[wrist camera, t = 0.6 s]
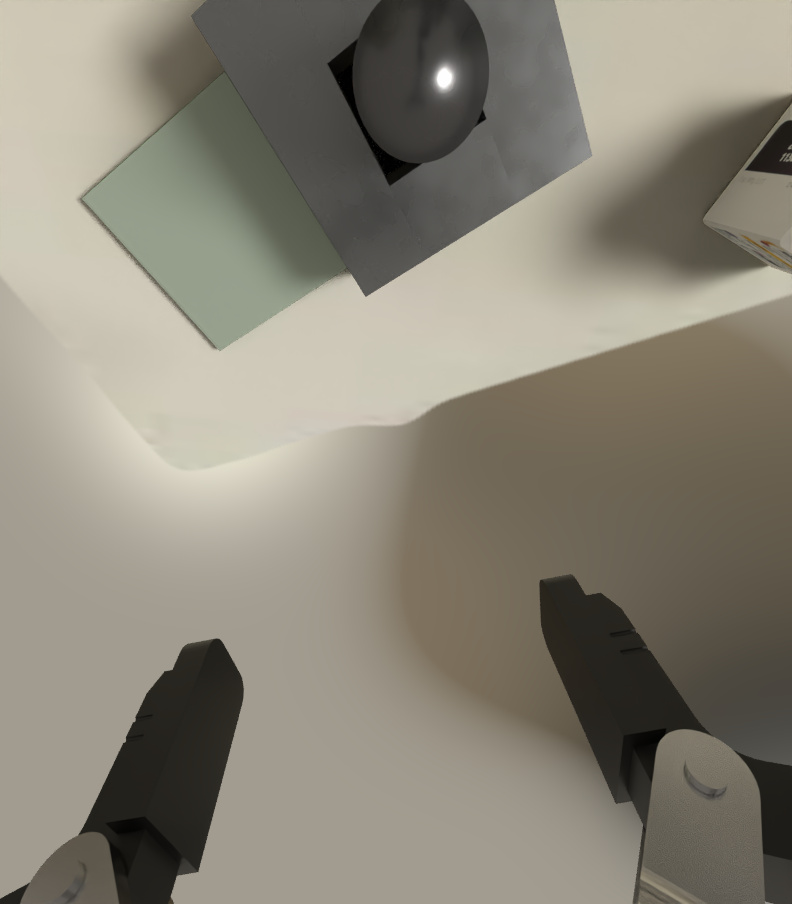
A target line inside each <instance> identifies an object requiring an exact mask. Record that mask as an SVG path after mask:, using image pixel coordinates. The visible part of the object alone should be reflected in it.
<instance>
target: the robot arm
mask: <svg viewBox="0 0 792 904" xmlns="http://www.w3.org/2000/svg"><path fill="white" fill-rule="evenodd" d="M540 611H541V627H542V631H543V635H544V639H545V642H546V645H547V648H548V650H549V652H550V655H551V657H552V659H553V661H554V664H555V666H556V668H557V671H558V673H559V675H560V677H561V680H562V682H563V684H564V686H565V689H566V691H567V693H568V696H569V698H570V700H571V702H572V705H573V707H574V709H575V711H576V714H577V716H578V718H579V721H580V723H581V725H582V728H583V730H584V732H585V734H586V737H587V739H588V741H589V743H590V746H591V748H592V750H593V752H594V755H595V757H596V759H597V761H598V764H599V766H600V768H601V771H602V773H603V775H604V778H605V780H606V782H607V784H608V787H609V789H610V791H611V794H612V796H613V798H614V800H615V803H616V804H617V803H623V802H629V801H632V802H633V804H634V806H635V808H636V811H637V813H638V814H639V817H640V819H641V821H642V823H643V829H642V836H641V844H640V852H639V859H638V867H637V874H636V882H635V889H634V897H633V904H765V901H766V902H770V903H773V904H792V766H789V765H783V764H777V763H772V762H766V761H761V760H757V759H753V758H751V757H747V756H745V755H743V754H740V753H738V752H736V751H734V750H732V749H731V748H730V747H728V746H727V745H725V744H724V743H723V742H721V741H719V740H718V739H716V738H714V737H713V736H712V735H711V734H710V733H709V732H708V731H707V730H706V729H705V728H704V727H703V726H702V725H701V724H700V723H699V721H698V720H697V719H696V717H695V716H694V715H693V713H692V712H691V710H690V709H689V707H688V706H687V704H686V703H685V701H684V700H683V698H682V697H681V695H680V694H679V693H678V691H677V690H676V688H675V687H674V685H673V684H672V682H671V681H670V679H669V678H668V676H667V675H666V674H665V672H664V670H663V669H662V668H661V666H660V665H659V664H658V662H657V660H656V659H655V657H654V656H653V654H652V653H651V652H650V651H649V650H648V649H647V646H646V644H645V643H644V641H643V640H642V639H641V637H640V635H639V634H638V633H636V631H635V628H634V627H633V625H632V624H631V622H630V621H629V619H628V618H627V616H626V615H625V614H624V612H623V610H622V609H621V608H620V607H619V606H617V605H616V604H615V603H613V602H612V601H611V600H609V599H608V598H607V597H605V596H604V595H603V594H602V593H597V594H592V595H585V593H584V591H583V590H582V588H581V587H580V585H579V583H578V582H577V580H576V579H575V577H574V576H573V575H571V574H570V575H564V576H559V577H554V578H548V579H543V580H540ZM243 692H244V688H243V681H242V677H241V675H240V673H239V671H238V669H237V667H236V666H235V664H234V662H233V660H232V658H231V657H230V655H229V653H228V651H227V649H226V648H225V646H224V644H223V642H222V641H221V640H220V639H212V640H207V641H201V642H196V643H190V644H187V645H185V646H184V647H183V648H182V650H181V652H180V654H179V656H178V659H177V661H176V663H175V665H174V668H173V670H170V671H165V672H164V673H163V674H162V676H161V677H160V678H159V679H158V680H157V682H156V683H155V684H154V686H153V687H152V688H151V689H150V690H149V691H148V693H147V694H146V696H145V699H144V701H143V703H142V705H141V707H140V709H139V711H138V713H137V715H136V721H135V722H133V724H132V726H131V728H130V730H129V732H128V734H127V736H126V742H125V743H123V745H122V747H121V749H120V751H119V753H118V755H117V758H116V760H115V762H114V764H113V766H112V768H111V770H110V772H109V774H108V777H107V779H106V781H105V783H104V785H103V787H102V789H101V791H100V793H99V796H98V798H97V800H96V802H95V804H94V806H93V808H92V810H91V812H90V814H89V817H88V819H87V821H86V823H85V825H84V827H83V828H82V830H81V832H80V833H79V835H78V836H76V837H74V838H72V839H71V840H69V841H68V842H66V843H65V844H63V845H62V846H61V847H60V848H59V849H57V850H56V851H55V852H54V853H53V854H52V855H51V856H50V857H49V858H48V859H47V860H46V861H45V863H44V864H43V865H42V866H41V867H40V869H39V870H38V871H37V873H36V874H35V876H34V877H33V879H32V880H31V882H30V883H28V884H27V885H25V886H23V887H21V888H19V889H17V890H16V891H14V892H12V893H10V894H8V895H6V896H4V897H3V898H1V899H0V904H174V902H173V900H172V898H171V893H172V890H173V887H174V883H175V880H176V876H177V875H183V874H189V873H195V872H198V870H199V867H200V863H201V859H202V855H203V851H204V848H205V843H206V840H207V836H208V832H209V829H210V825H211V821H212V817H213V813H214V809H215V806H216V802H217V798H218V794H219V790H220V786H221V783H222V779H223V775H224V771H225V767H226V764H227V760H228V756H229V752H230V748H231V744H232V740H233V737H234V733H235V729H236V725H237V721H238V717H239V714H240V709H241V706H242V702H243Z"/></svg>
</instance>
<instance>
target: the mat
mask: <svg viewBox="0 0 792 904" xmlns="http://www.w3.org/2000/svg"><path fill="white" fill-rule="evenodd" d="M82 199H83V200H84V202H85V203H86V204H87V205H88V206H89V207H90V208H91V209H92V210H93V212H94V213H95V214H96V215H97V216H98V217H99V218H100V219H101V220H102V221H103V223H104V224H105V225H106V226H107V227H108V228H109V229H110V230H111V231H112V233H113V234H114V235H115V236H116V237H117V238H118V239H119V240H120V241H121V242H122V244H123V245H124V246H125V247H126V248H127V249H128V250H129V251H130V252H131V254H132V255H133V256H134V257H135V258H136V259H137V260H138V261H139V262H140V263H141V265H142V266H143V267H144V268H145V269H146V270H147V271H148V272H149V273H150V274H151V276H152V277H153V278H154V279H155V280H156V281H157V282H158V283H159V284H160V286H161V287H162V288H163V289H164V290H165V291H166V292H167V293H168V294H169V295H170V297H171V298H172V299H173V300H174V301H175V302H176V303H177V304H178V305H179V307H180V308H181V309H182V310H183V311H184V312H185V313H186V314H187V315H188V316H189V318H190V319H191V320H192V321H193V322H194V323H195V324H196V325H197V326H198V328H199V329H200V330H201V331H202V332H203V333H204V334H205V335H206V336H207V337H208V339H209V340H210V341H211V342H212V343H213V344H214V345H215V346H216V347H217V349H218V350H219V351H221V350H222V349H224V348H225V347H227V346H228V345H230V344H231V343H233V342H234V341H236V340H238V339H239V338H241V337H242V336H244V335H245V334H247V333H248V332H250V331H251V330H253V329H254V328H256V327H257V326H259V325H261V324H262V323H264V322H265V321H267V320H268V319H270V318H271V317H273V316H274V315H276V314H277V313H279V312H280V311H282V310H283V309H285V308H287V307H288V306H290V305H291V304H293V303H294V302H296V301H297V300H299V299H300V298H302V297H303V296H305V295H306V294H308V293H309V292H311V291H313V290H314V289H316V288H317V287H319V286H320V285H322V284H323V283H325V282H326V281H328V280H329V279H331V278H332V277H334V276H336V275H337V274H339V273H340V272H342V271H343V270H345V269H346V268H347V266H346V264H345V263H344V261H343V260H342V258H341V256H340V255H339V253H338V252H337V250H336V248H335V247H334V245H333V243H332V242H331V240H330V239H329V237H328V235H327V234H326V232H325V231H324V229H323V227H322V226H321V224H320V223H319V221H318V219H317V218H316V216H315V215H314V213H313V211H312V210H311V208H310V207H309V205H308V203H307V202H306V200H305V198H304V197H303V195H302V194H301V192H300V190H299V189H298V187H297V186H296V184H295V182H294V181H293V179H292V178H291V176H290V174H289V173H288V171H287V170H286V168H285V166H284V165H283V163H282V162H281V160H280V158H279V157H278V155H277V153H276V152H275V150H274V149H273V147H272V145H271V144H270V142H269V141H268V139H267V137H266V136H265V134H264V133H263V131H262V129H261V128H260V126H259V125H258V123H257V121H256V120H255V118H254V117H253V115H252V113H251V112H250V110H249V108H248V107H247V105H246V104H245V102H244V100H243V99H242V97H241V96H240V94H239V92H238V91H237V89H236V88H235V86H234V84H233V83H232V81H231V80H230V78H229V76H228V75H227V73H226V72H224V73H222V74H221V75H220V76H219V77H218V78H217V79H216V80H215V81H213V82H212V83H211V84H210V85H209V86H208V87H207V88H206V89H204V90H203V91H202V92H201V93H200V94H199V95H198V96H197V97H195V98H194V99H193V100H192V101H191V102H190V103H189V104H188V105H186V106H185V107H184V108H183V109H182V110H181V111H180V112H179V113H177V114H176V115H175V116H174V117H173V118H172V119H171V120H170V121H168V122H167V123H166V124H165V125H164V126H163V127H162V128H161V129H159V130H158V131H157V132H156V133H155V134H154V135H153V136H152V137H151V138H149V139H148V140H147V141H146V142H145V143H144V144H143V145H142V146H140V147H139V148H138V149H137V150H136V151H135V152H134V153H133V154H131V155H130V156H129V157H128V158H127V159H126V160H125V161H124V162H122V163H121V164H120V165H119V166H118V167H117V168H116V169H115V170H113V171H112V172H111V173H110V174H109V175H108V176H107V177H106V178H104V179H103V180H102V181H101V182H100V183H99V184H98V185H97V186H95V187H94V188H93V189H92V190H91V191H90V192H89V193H88V194H86V195H85V196H84V197H83V198H82Z"/></svg>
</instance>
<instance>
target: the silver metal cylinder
mask: <svg viewBox="0 0 792 904" xmlns="http://www.w3.org/2000/svg"><path fill="white" fill-rule="evenodd" d="M488 83H489V56H488V49H487V44H486V40H485V36H484V33H483V30H482V28H481V25H480V23H479V21H478V19H477V17H476V15H475V13H474V12H473V11H472V9H471V8H470V6H469V5H468V4H467V3H466V2H465V1H464V0H381V1H380V2H379V3H378V4H377V5H376V6H375V8H374V9H373V10H372V11H371V13H370V15H369V16H368V18H367V20H366V21H365V23H364V25H363V28H362V30H361V32H360V35H359V38H358V41H357V44H356V49H355V54H354V60H353V91H354V97H355V102H356V106H357V109H358V112H359V115H360V118H361V120H362V122H363V124H364V126H365V128H366V130H367V131H368V133H369V135H370V136H371V137H372V139H373V140H374V141H375V142H376V143H377V144H378V145H379V147H380V148H382V149H383V150H384V151H385V152H387V153H388V154H390V155H391V156H393V157H395V158H397V159H399V160H402V161H405V162H409V163H428V162H432V161H436V160H438V159H441V158H443V157H445V156H447V155H448V154H450V153H451V152H453V151H454V150H455V149H456V148H458V147H459V146H460V145H461V144H462V143H463V142H464V141H465V139H466V138H467V137H468V135H469V134H470V133H471V131H472V130H473V128H474V126H475V125H476V123H477V121H478V119H479V117H480V114H481V112H482V109H483V106H484V103H485V99H486V95H487V90H488Z"/></svg>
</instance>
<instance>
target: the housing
mask: <svg viewBox="0 0 792 904" xmlns="http://www.w3.org/2000/svg"><path fill="white" fill-rule="evenodd" d="M380 1H381V0H207V1H206V2H205V3H204V4H203V5H202V6H201V7H200V8H199V9H198V10H197V11H196V12H195V13H194V14H193V15H192V16H191V17H192V18H193V20H194V22H195V23H196V25H197V27H198V28H199V30H200V31H201V33H202V35H203V36H204V38H205V39H206V41H207V43H208V44H209V46H210V47H211V49H212V51H213V52H214V54H215V55H216V57H217V59H218V60H219V62H220V63H221V65H222V67H223V68H224V70H225V72H226V73H227V75H228V76H229V78H230V80H231V81H232V83H233V84H234V86H235V88H236V89H237V91H238V92H239V94H240V96H241V97H242V99H243V100H244V102H245V104H246V105H247V107H248V108H249V110H250V112H251V113H252V115H253V117H254V118H255V120H256V121H257V123H258V125H259V126H260V128H261V129H262V131H263V133H264V134H265V136H266V137H267V139H268V141H269V142H270V144H271V145H272V147H273V149H274V150H275V152H276V153H277V155H278V157H279V158H280V160H281V162H282V163H283V165H284V166H285V168H286V170H287V171H288V173H289V174H290V176H291V178H292V179H293V181H294V182H295V184H296V186H297V187H298V189H299V190H300V192H301V194H302V195H303V197H304V198H305V200H306V202H307V203H308V205H309V207H310V208H311V210H312V211H313V213H314V215H315V216H316V218H317V219H318V221H319V223H320V224H321V226H322V227H323V229H324V231H325V232H326V234H327V235H328V237H329V239H330V240H331V242H332V243H333V245H334V247H335V248H336V250H337V252H338V253H339V255H340V256H341V258H342V260H343V261H344V263H345V264H346V266H347V268H348V269H349V271H350V272H351V274H352V276H353V277H354V279H355V280H356V282H357V284H358V285H359V287H360V288H361V290H362V292H363V293H364V295H365V297H366V296H368V295H369V294H371V293H373V292H374V291H376V290H377V289H379V288H381V287H382V286H384V285H385V284H387V283H389V282H390V281H392V280H394V279H395V278H397V277H398V276H400V275H402V274H403V273H405V272H406V271H408V270H410V269H411V268H413V267H414V266H416V265H418V264H419V263H421V262H422V261H424V260H426V259H427V258H429V257H430V256H432V255H434V254H435V253H437V252H439V251H440V250H442V249H443V248H445V247H447V246H448V245H450V244H451V243H453V242H455V241H456V240H458V239H459V238H461V237H463V236H464V235H466V234H467V233H469V232H471V231H472V230H474V229H476V228H477V227H479V226H480V225H482V224H484V223H485V222H487V221H488V220H490V219H492V218H493V217H495V216H496V215H498V214H500V213H501V212H503V211H504V210H506V209H508V208H509V207H511V206H513V205H514V204H516V203H517V202H519V201H521V200H522V199H524V198H525V197H527V196H529V195H530V194H532V193H533V192H535V191H537V190H538V189H540V188H541V187H543V186H545V185H546V184H548V183H549V182H551V181H553V180H554V179H556V178H558V177H559V176H561V175H562V174H564V173H566V172H567V171H569V170H570V169H572V168H574V167H575V166H577V165H578V164H580V163H582V162H583V161H585V160H586V159H588V158H590V157H591V156H592V153H591V149H590V145H589V141H588V137H587V132H586V128H585V124H584V120H583V116H582V112H581V108H580V104H579V100H578V96H577V91H576V87H575V83H574V79H573V75H572V71H571V67H570V63H569V59H568V55H567V50H566V46H565V42H564V38H563V34H562V30H561V26H560V22H559V18H558V14H557V9H556V5H555V1H554V0H464V1H465V2H466V3H467V4H468V5H469V6H470V8H471V9H472V11H473V12H474V13H475V15H476V17H477V19H478V21H479V23H480V25H481V28H482V30H483V33H484V36H485V40H486V44H487V49H488V56H489V83H488V90H487V95H486V99H485V103H484V106H483V109H482V112H481V114H480V117H479V119H478V121H477V123H476V125H475V126H474V128H473V130H472V131H471V133H470V134H469V135H468V137H467V138H466V139H465V141H464V142H463V143H462V144H461V145H460V146H459V147H458V148H456V149H455V150H454V151H453V152H451V153H450V154H448V155H447V156H445V157H443V158H441V159H438V160H436V161H432V162H428V163H409V162H406V163H405V164H404V165H402V166H401V167H399V168H398V169H396V170H395V171H394V172H392V173H391V174H389V175H388V176H386V174H385V172H384V170H383V168H382V166H381V164H380V162H379V160H378V158H377V156H376V154H375V152H374V150H373V148H372V146H371V144H370V142H369V140H368V138H367V137H366V135H365V133H364V131H363V129H362V127H361V125H360V123H359V121H358V119H357V117H356V115H355V113H354V111H353V109H352V107H351V105H350V103H349V101H348V99H347V97H346V95H345V93H344V91H343V89H342V87H341V85H340V83H339V81H338V79H337V77H336V76H337V75H338V74H340V73H341V72H342V71H343V70H345V69H346V68H347V67H348V66H350V65H351V64H352V63H353V60H354V54H355V49H356V44H357V41H358V38H359V35H360V32H361V30H362V28H363V25H364V23H365V21H366V20H367V18H368V16H369V15H370V13H371V11H372V10H373V9H374V8H375V6H376V5H377V4H378V3H379V2H380Z"/></svg>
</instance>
